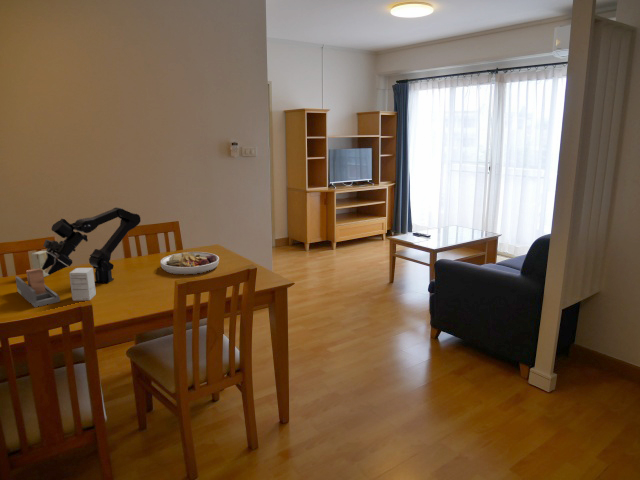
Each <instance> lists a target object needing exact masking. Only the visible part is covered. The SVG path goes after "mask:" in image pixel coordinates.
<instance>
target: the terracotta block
mask: <svg viewBox="0 0 640 480" xmlns="http://www.w3.org/2000/svg"><path fill="white" fill-rule="evenodd" d="M26 277H27V284H28V285H29V286H30V287H31V288H33V289H34V290H35V293H36V295H37V294H42V293H46V291H45V285H46V284H45V277H44V275H43V270H41V269H40V268H38V269H28V270H26Z"/></svg>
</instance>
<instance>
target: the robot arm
mask: <svg viewBox="0 0 640 480" xmlns="http://www.w3.org/2000/svg"><path fill="white" fill-rule="evenodd" d="M117 218H118V219H119V220H120V222H119V226H118V227H117V229H116V230H115V231H114V232H113V234H112V235H111V237H110V238H109V239H108V240H107V241H106V243H105V244H104V245H103V246H102V247H101V248H100V249H99V248H98V249H97V248H95V249H94V250H93V251H92V253H91V254H90V255H89V256H90V257H89V258H88V262H89V265H90V266H92V268H93V270H95V272H94V281H95V284H109V283H110V282H113V280H114V279H115V278H114V277H113V274H112V270H113V269H114V264H113V263H112V262H111V258H112V257H111V256H112V253H113V252H114V250H115V249H116V248H117V247H118V246H119V244H120V243H121V242H122V241H123V239H124V238H125V237H126V236H127V234H128V233H129V232H130V231H131V230H133V229H135V228H136V227H137V226H138V225H140V223H141V215H139V214H138V213H133V212H130V211H128V210H125V209H123V208H122V207H116V206H115V207H113V208H111V209H110V210H107V211H105V212H102V213H100V214H97V215H95V216H92V217H91V216H90V217H83V218H79V219H77V220H75V222H73V223H70V222H68V221H67V220H66V219H64V218H61V219H60V220H57V221H56V222H55V223H54V224H52V226H51V231H52V232H53V233H54V234H56V235H58V236H59V237H60V238H63V239H64V240H60V241H59V242H58V241H57V240H50V239H45V241H44V242H43V243H44V244H42V246H43V247H44V248H45V251H47V252H48V253H47V252H46V254H47V258H46V261H45V263H44V265H43V267H42V269H43V270H45V269H47V268H48V267H50V270H49V272H48V274H49V275H48V276H50V275H52V274H54V273H56V272H59V271H61V270H63V269H65V268H68V267H70V266H71V265H72V264H73V260H72V259H71V258H70V255H71V254H72V253H73V252H76V248H77V247H78V246H79V245H80V243H81V242H82V241H85V242H86V243H87V242H88V241H89V240H88V235H87V234H89V233H91V232H93V231H95V230H97V228H98V227H99V226H100V225H102V224H105V223H107V222H109V221H112V220H114V219H117ZM83 233H85V234H83Z"/></svg>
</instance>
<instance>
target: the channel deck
mask: <svg viewBox="0 0 640 480" xmlns="http://www.w3.org/2000/svg"><path fill="white" fill-rule="evenodd" d="M15 283H16V289H17V291H16V292H18V294H19V295H21V296H22V297H23V298H24V300H26V301H27V302H28V303H29V304H30V303H31V304H32V305H31V304H30V305H31V306H32V307H33V308H38V306H39V307H42V306H43V307H44V306H47V304H48V305H51V304H56V303H59V302H61V297H60V296H59V294H58V293H56V292H55V291H53V290H52V289H51V288H50V287H49V286H48V285H46V284H45V291H46V293H42V294H37V295H36V293H35V290H34V289H33V288H31V287H30V286H29V285H28V282H27V283H26V282H25V281H24V280H23V279H22V278H21V277H20V276H15Z"/></svg>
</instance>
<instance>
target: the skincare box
mask: <svg viewBox="0 0 640 480" xmlns="http://www.w3.org/2000/svg"><path fill="white" fill-rule="evenodd" d="M46 252H47V251H46V250H39V251H36V252H32V253H31V263H32V268H33V269H38V268H40V269H41V270H43V269H42V267H43V265H44V263H45V261H46V258H47V254H46ZM47 253H48V252H47ZM50 268H51V266H50V267H48V268H47V269H45V270H43V275H44V278H45V277H48V276H50V275H49V274H48V272H49V270H50Z"/></svg>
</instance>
